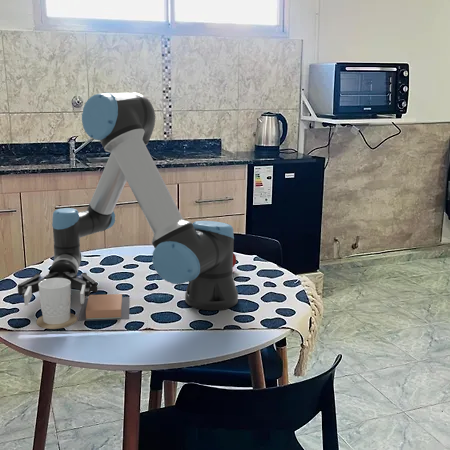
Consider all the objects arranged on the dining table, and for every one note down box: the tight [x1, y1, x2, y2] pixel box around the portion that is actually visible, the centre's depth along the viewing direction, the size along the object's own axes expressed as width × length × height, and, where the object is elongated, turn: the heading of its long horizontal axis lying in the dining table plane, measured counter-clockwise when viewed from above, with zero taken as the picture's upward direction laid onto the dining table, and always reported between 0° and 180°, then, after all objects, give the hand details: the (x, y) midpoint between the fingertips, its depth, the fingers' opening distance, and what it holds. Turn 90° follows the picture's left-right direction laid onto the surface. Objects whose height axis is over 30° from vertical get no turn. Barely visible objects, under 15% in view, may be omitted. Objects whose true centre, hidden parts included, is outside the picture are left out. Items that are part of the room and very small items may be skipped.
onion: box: [233, 252, 237, 268], centre depth 194 cm, size 6×6×8 cm
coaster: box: [36, 312, 78, 330], centre depth 152 cm, size 10×10×1 cm
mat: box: [77, 296, 131, 322], centre depth 160 cm, size 16×13×1 cm
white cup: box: [38, 278, 72, 325], centre depth 150 cm, size 8×8×10 cm
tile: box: [86, 293, 123, 319], centre depth 158 cm, size 2×9×11 cm
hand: (54, 299), depth 147 cm, fingers open, 13 cm apart
